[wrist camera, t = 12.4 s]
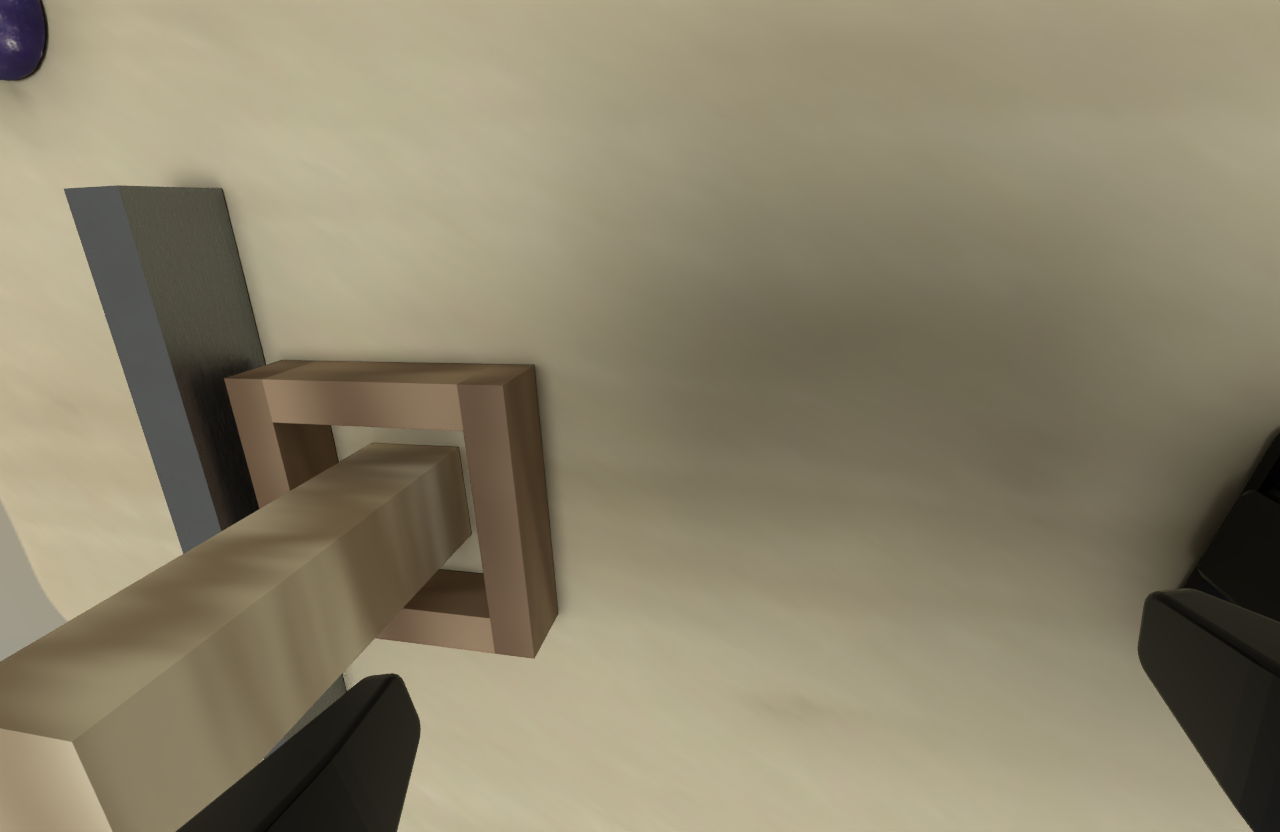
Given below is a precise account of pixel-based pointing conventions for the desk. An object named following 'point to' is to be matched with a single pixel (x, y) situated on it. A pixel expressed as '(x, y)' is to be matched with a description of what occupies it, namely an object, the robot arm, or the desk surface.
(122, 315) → the rail
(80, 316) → the desk surface
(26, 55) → the toy lamp
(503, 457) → the collar
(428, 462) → the wooden square post
